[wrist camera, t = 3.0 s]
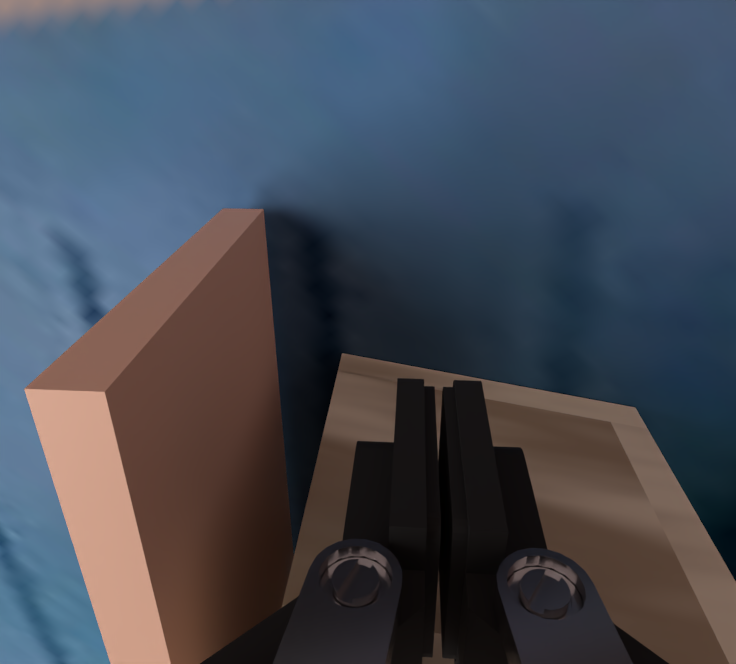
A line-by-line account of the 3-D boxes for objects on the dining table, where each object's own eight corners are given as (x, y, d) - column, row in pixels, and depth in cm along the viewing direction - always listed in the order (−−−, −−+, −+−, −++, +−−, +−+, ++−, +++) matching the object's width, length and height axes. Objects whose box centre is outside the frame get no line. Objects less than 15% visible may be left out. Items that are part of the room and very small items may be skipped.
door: (295, 576, 24) (225, 887, 15) (237, 572, 24) (134, 878, 15) (263, 209, 17) (104, 392, 8) (182, 207, 17) (-55, 386, 9)
